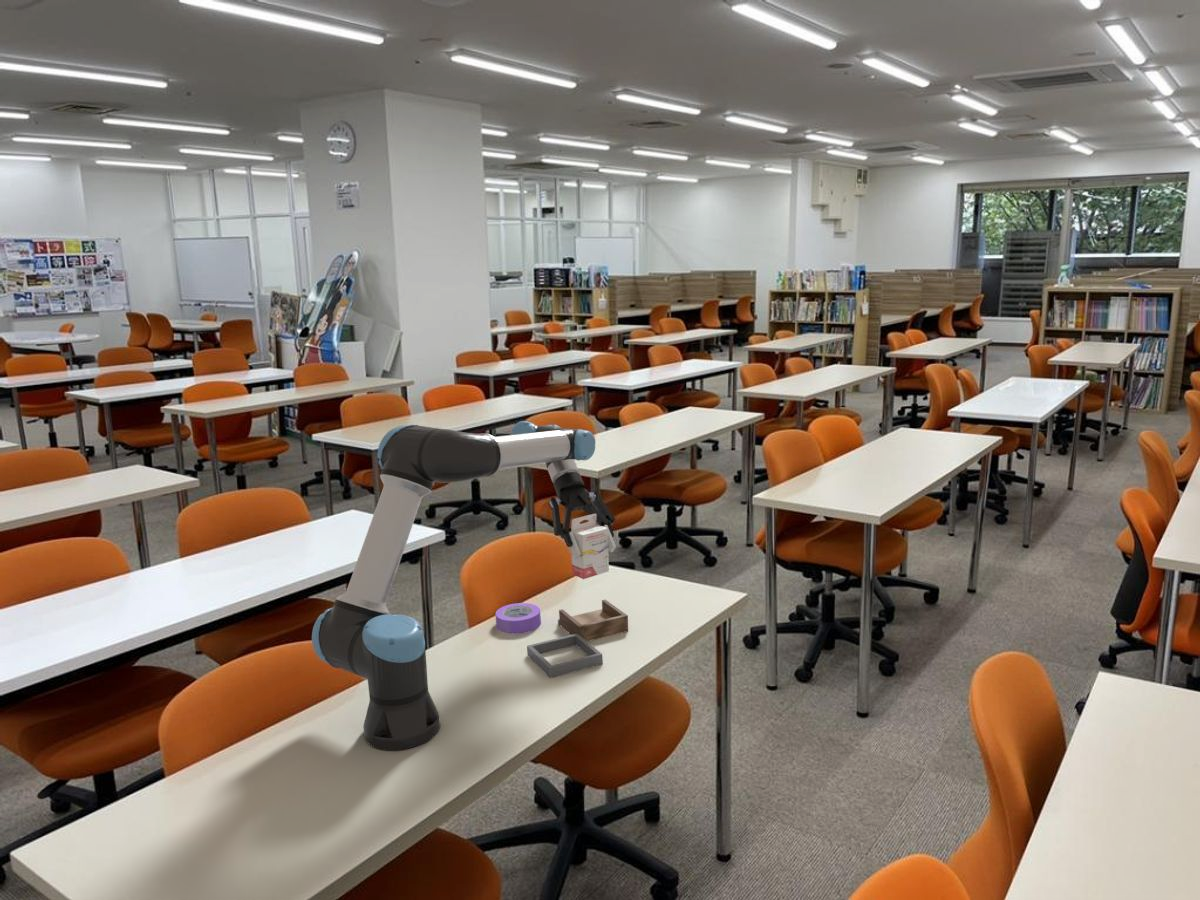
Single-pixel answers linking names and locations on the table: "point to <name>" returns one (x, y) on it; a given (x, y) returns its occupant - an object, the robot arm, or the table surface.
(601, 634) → the wooden tray
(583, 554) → the ink cartridge box
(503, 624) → the masking tape
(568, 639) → the socket
